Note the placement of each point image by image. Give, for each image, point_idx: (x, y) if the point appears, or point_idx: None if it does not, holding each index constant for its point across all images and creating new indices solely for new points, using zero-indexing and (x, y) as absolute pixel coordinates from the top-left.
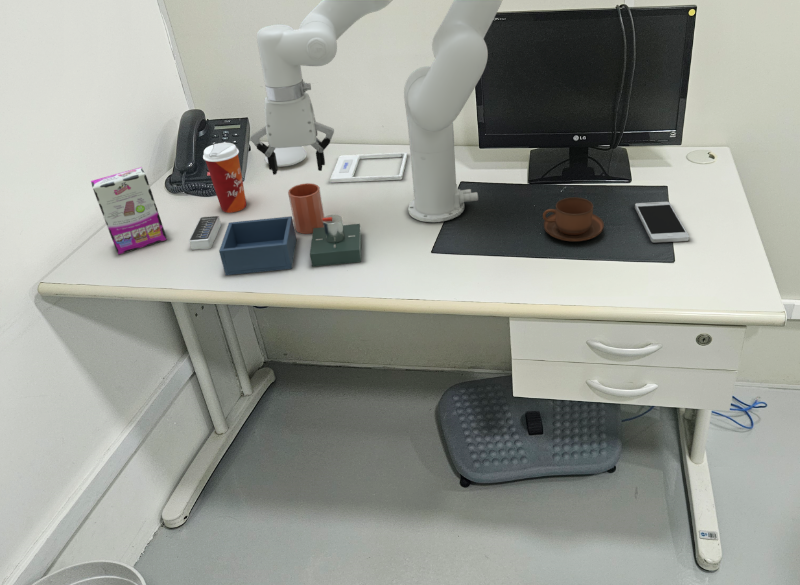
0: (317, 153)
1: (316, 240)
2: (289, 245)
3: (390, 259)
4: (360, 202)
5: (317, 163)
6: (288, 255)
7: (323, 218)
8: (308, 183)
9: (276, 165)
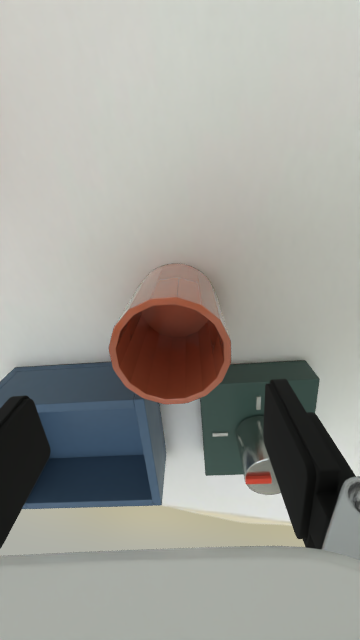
0: (312, 547)
1: (214, 436)
2: (160, 466)
3: (353, 445)
4: (321, 162)
5: (276, 476)
6: (163, 479)
7: (248, 481)
8: (179, 301)
9: (23, 440)
